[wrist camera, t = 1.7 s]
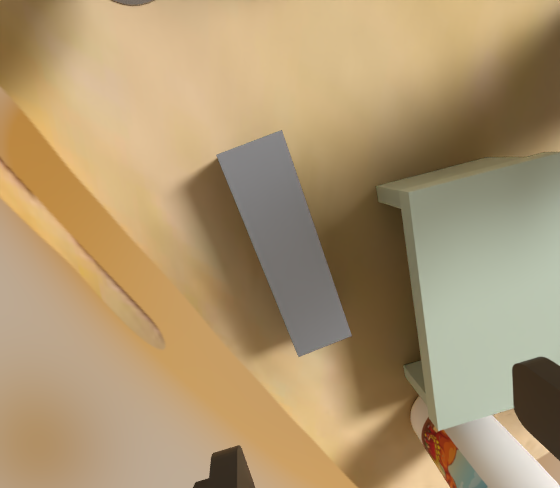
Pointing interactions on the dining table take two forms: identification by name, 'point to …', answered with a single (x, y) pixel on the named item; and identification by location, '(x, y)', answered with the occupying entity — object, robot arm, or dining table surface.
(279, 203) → the grey rectangular brick
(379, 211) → the dining table surface
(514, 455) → the milk bottle
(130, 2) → the wine glass
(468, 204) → the sage shelf
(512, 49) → the dining table surface
